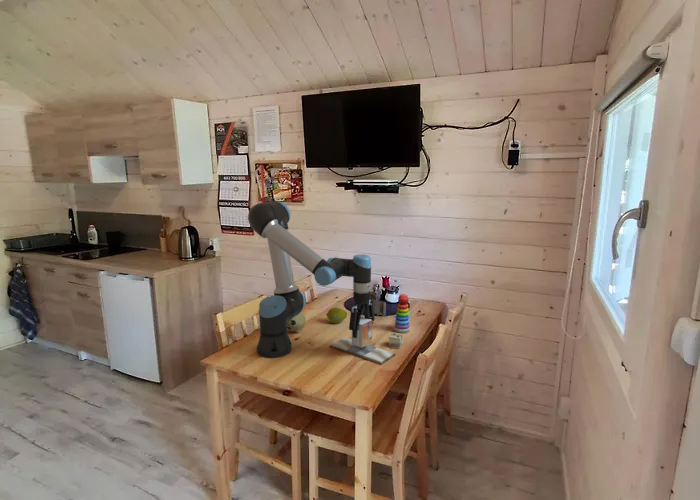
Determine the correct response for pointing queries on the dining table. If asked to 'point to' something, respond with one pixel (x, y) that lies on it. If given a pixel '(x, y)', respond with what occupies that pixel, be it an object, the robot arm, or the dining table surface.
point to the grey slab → (379, 307)
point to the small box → (364, 332)
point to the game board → (363, 351)
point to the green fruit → (336, 315)
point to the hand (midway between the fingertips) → (362, 340)
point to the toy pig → (296, 323)
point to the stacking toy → (402, 315)
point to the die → (396, 340)
